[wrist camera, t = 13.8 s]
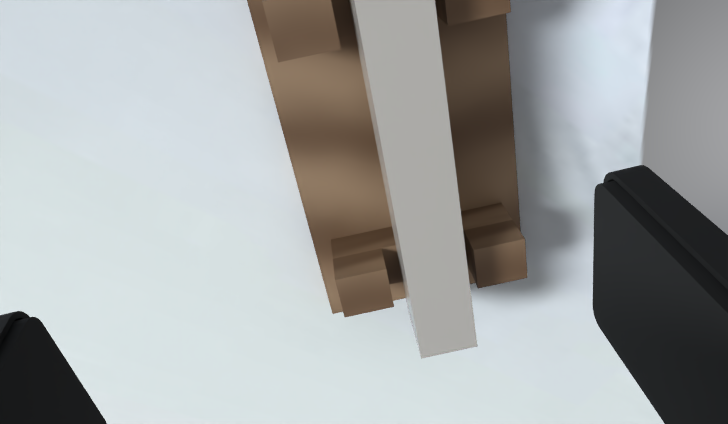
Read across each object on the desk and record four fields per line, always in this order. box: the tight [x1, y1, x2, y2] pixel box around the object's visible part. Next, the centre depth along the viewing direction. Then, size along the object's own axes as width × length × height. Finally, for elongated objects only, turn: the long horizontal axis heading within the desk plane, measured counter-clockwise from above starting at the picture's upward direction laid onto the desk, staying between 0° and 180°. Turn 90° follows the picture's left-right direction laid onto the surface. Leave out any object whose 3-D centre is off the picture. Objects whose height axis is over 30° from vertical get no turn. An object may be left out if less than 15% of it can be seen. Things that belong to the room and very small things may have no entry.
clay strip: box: [349, 0, 477, 358], centre depth 28 cm, size 20×3×4 cm, turn 11°
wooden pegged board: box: [247, 0, 527, 317], centre depth 30 cm, size 22×12×5 cm, turn 11°
